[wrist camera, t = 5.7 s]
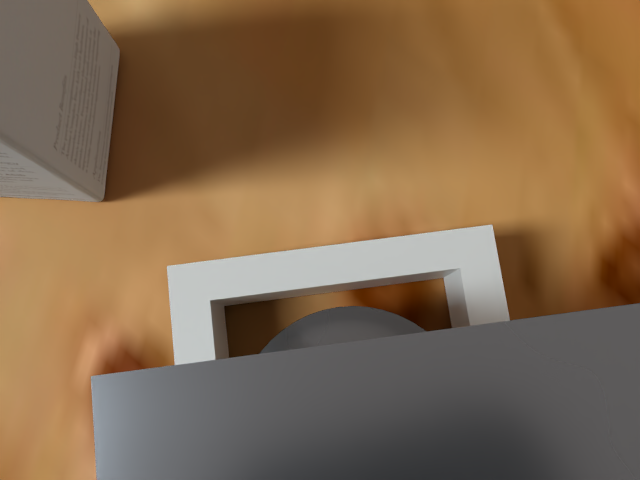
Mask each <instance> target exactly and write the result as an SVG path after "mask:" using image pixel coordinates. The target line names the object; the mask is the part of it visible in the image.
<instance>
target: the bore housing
mask: <svg viewBox="0 0 640 480" xmlns="http://www.w3.org/2000/svg"><path fill="white" fill-rule="evenodd" d="M167 273H168V285H169V298H170V310H171V322H172V335H173V347H174V360H175V365H180V364H188V363H195V362H203V361H210V360H218V359H225V358H229V351H228V341H227V330H226V320H225V310H224V306H229V305H237V304H244V303H252V302H260V301H268V300H275V299H283V298H291V297H299V296H306V295H314V294H322V293H330V292H337V291H345V290H353V289H361V288H369V287H376V286H384V285H392V284H400V283H407V282H415V281H423V280H431V279H438V278H444V284H445V290H446V296H447V302H448V308H449V314H450V320H451V326H452V328H458V327H465V326H473V325H480V324H488V323H495V322H503V321H510V318H509V312H508V307H507V302H506V296H505V291H504V285H503V280H502V275H501V269H500V264H499V259H498V253H497V248H496V242H495V237H494V232H493V226H492V225H485V226H477V227H470V228H462V229H454V230H446V231H438V232H430V233H423V234H415V235H407V236H399V237H391V238H383V239H375V240H368V241H360V242H352V243H344V244H336V245H328V246H321V247H313V248H305V249H297V250H289V251H281V252H274V253H266V254H258V255H250V256H242V257H234V258H227V259H219V260H211V261H203V262H195V263H187V264H179V265H172V266H167Z"/></svg>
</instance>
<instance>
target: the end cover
mask: <svg viewBox="0 0 640 480" xmlns="http://www.w3.org/2000/svg"><path fill="white" fill-rule="evenodd" d="M91 386H92V404H93V422H94V440H95V458H96V476H97V480H640V303H638V304H630V305H623V306H615V307H608V308H600V309H593V310H585V311H578V312H570V313H563V314H555V315H548V316H540V317H533V318H525V319H518V320H510V321H503V322H495V323H488V324H480V325H473V326H465V327H458V328H450V329H443V330H435V331H428V332H426V331H425V330H424V329H422V328H421V327H419V326H418V325H416V324H414V323H413V322H411V321H409V320H407V319H405V318H403V317H401V316H399V315H396V314H393V313H391V312H388V311H385V310H380V309H375V308H370V307H359V306H348V307H336V308H331V309H326V310H322V311H319V312H316V313H313V314H310V315H308V316H306V317H304V318H302V319H300V320H298V321H296V322H294V323H293V324H291V325H290V326H288V327H287V328H285V329H284V330H282V331H281V332H280V333H279V334H278V335H277V336H275V337H274V338H273V339H272V340H271V341H270V342H269V343H268V344H267V345H266V346H265V348H264V349H263V350H262V351H261V352H260V354H255V355H248V356H240V357H233V358H225V359H218V360H210V361H203V362H195V363H188V364H180V365H173V366H165V367H158V368H150V369H143V370H135V371H128V372H120V373H113V374H105V375H98V376H91Z"/></svg>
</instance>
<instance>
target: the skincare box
mask: <svg viewBox="0 0 640 480" xmlns="http://www.w3.org/2000/svg"><path fill="white" fill-rule="evenodd" d="M119 57H120V49H119V47H118V46H117V44H116V42H115V41H114V40H113V38H112V37H111V35H110V34H109V32H108V30H107V29H106V28H105V26H104V25H103V23H102V22H101V20H100V19H99V17H98V16H97V14H96V13H95V11H94V10H93V8H92V7H91V5H90V4H89V2H88V1H87V0H0V197H16V198H33V199H35V198H37V199H56V200H76V201H90V202H100V201H102V200H103V199H104V195H105V184H106V174H107V165H108V156H109V147H110V139H111V130H112V121H113V112H114V102H115V93H116V84H117V75H118V66H119Z"/></svg>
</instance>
